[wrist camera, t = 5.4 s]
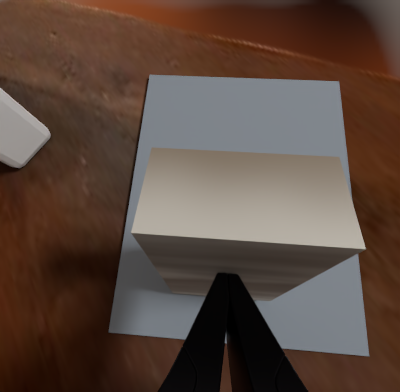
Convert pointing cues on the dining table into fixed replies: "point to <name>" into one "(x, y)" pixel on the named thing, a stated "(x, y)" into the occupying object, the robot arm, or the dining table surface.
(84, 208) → the dining table surface
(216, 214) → the beige streaked block
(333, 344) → the mat
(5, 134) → the pepper shaker
